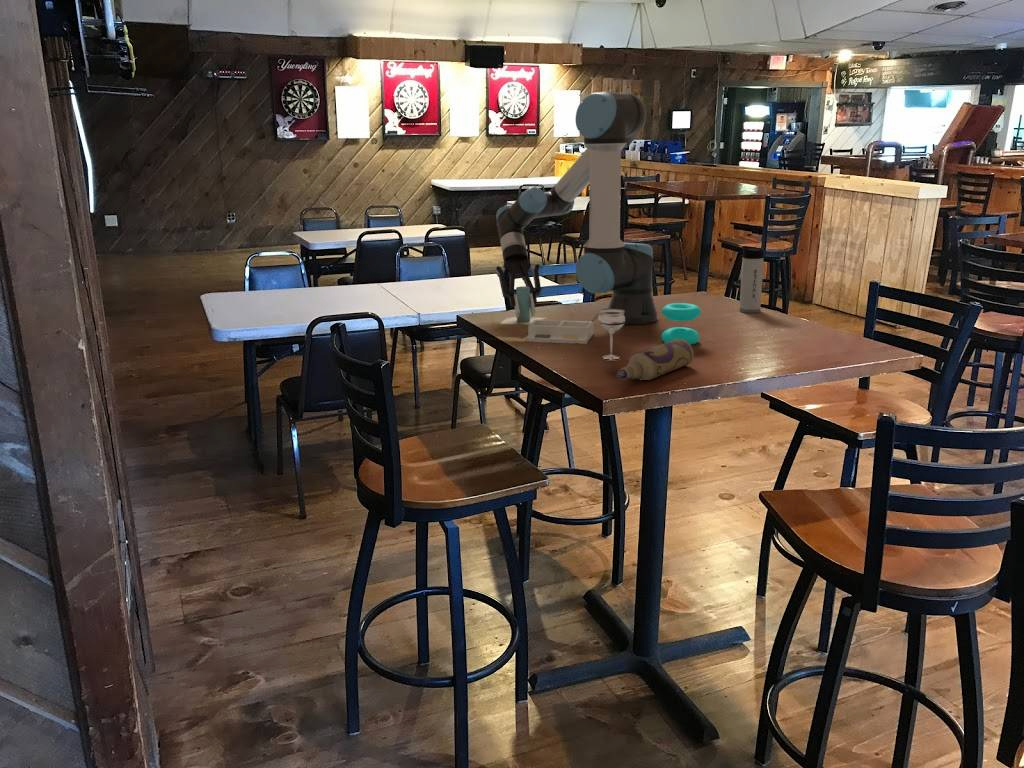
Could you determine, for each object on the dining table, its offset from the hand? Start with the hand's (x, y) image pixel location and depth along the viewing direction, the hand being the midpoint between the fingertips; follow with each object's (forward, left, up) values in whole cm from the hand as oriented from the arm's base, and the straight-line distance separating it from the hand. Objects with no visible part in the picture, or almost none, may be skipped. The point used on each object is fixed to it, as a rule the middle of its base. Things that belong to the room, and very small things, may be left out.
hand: (525, 314), depth 244 cm
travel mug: (-64, -32, -4) cm, 72 cm away
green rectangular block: (+2, -3, -3) cm, 5 cm away
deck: (+2, -3, -4) cm, 5 cm away
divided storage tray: (-12, +12, -4) cm, 17 cm away
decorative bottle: (-40, +44, -4) cm, 60 cm away
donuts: (-45, +12, -4) cm, 47 cm away
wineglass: (-29, +31, -4) cm, 43 cm away
